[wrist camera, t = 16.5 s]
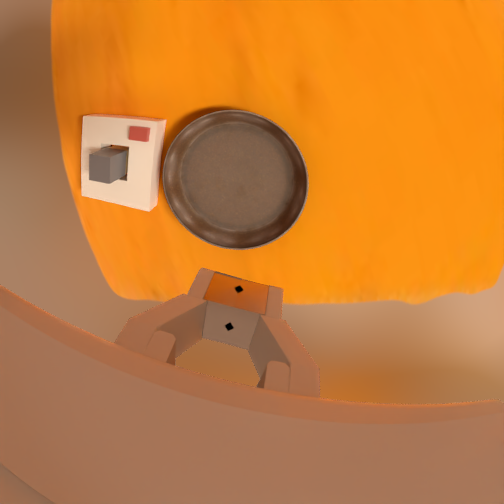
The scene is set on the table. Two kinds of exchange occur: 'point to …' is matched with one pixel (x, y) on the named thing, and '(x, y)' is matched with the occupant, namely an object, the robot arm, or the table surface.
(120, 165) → the plug
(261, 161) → the plant saucer
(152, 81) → the table surface
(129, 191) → the socket plate
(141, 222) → the table surface
